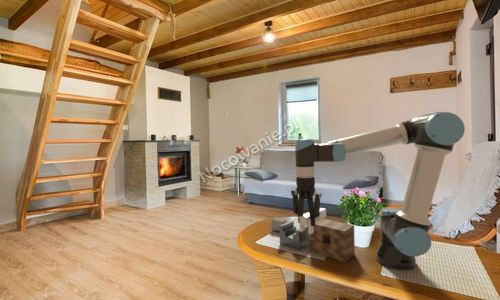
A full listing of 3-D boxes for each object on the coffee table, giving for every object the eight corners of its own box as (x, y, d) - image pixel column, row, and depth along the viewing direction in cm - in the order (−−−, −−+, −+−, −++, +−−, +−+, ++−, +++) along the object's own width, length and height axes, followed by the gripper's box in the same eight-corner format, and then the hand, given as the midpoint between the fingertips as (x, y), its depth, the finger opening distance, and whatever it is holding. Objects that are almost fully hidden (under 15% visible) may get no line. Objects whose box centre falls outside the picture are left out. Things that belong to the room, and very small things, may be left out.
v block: (310, 244, 135) (309, 225, 134) (299, 250, 127) (298, 230, 127) (291, 238, 143) (290, 220, 142) (279, 244, 136) (279, 225, 135)
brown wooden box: (354, 254, 121) (354, 225, 121) (345, 262, 114) (344, 231, 114) (319, 244, 134) (319, 217, 133) (309, 250, 127) (309, 222, 126)
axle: (326, 216, 116) (326, 208, 116) (307, 226, 105) (306, 217, 105) (319, 215, 119) (319, 207, 118) (299, 224, 107) (299, 216, 107)
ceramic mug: (282, 234, 149) (282, 221, 149) (270, 231, 154) (270, 218, 154) (291, 229, 158) (291, 216, 157) (279, 226, 163) (279, 214, 162)
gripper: (328, 176, 104) (329, 234, 105) (293, 173, 115) (295, 225, 116) (318, 179, 98) (320, 239, 99) (283, 176, 110) (285, 230, 111)
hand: (306, 231), depth 108 cm, fingers closed on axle, 3 cm apart
